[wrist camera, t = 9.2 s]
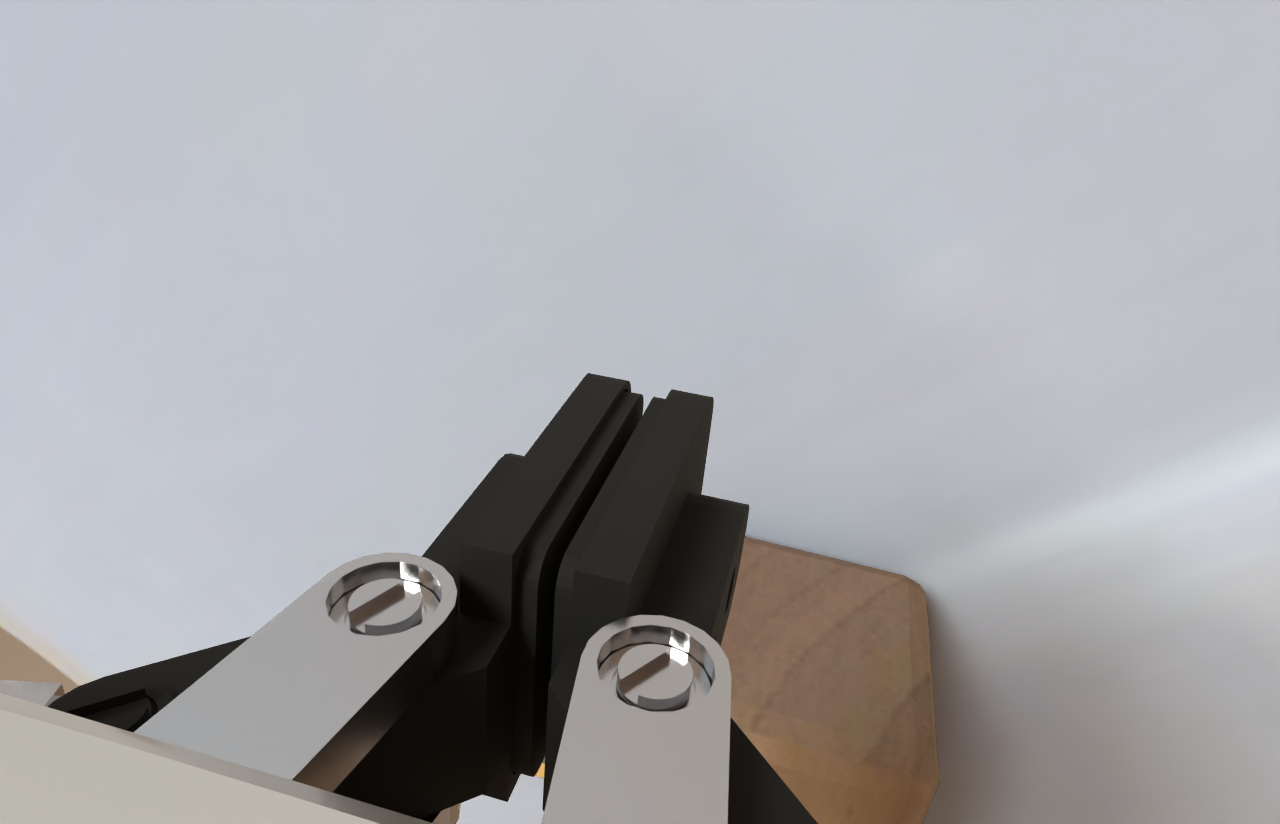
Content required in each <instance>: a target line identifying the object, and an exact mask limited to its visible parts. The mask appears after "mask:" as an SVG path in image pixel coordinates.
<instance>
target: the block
mask: <svg viewBox="0 0 1280 824" xmlns="http://www.w3.org/2000/svg"><path fill="white" fill-rule="evenodd" d="M721 649H722V650H723V652H724V653H725V655H726V657H727V658H728V660H729V666H730V671H731V715H730V717H731V718H732V719H733V720H734V722H735V723H736V724H737V725H738V726H739V728H740V729H741V730H742V731H743V733H744V734H745V735H746V736H747V737H748V739H749V740H750V741H751V742H752V744H753V745H754V746H755V747H756V748H757V750H758V751H759V752H760V753H761V755H762V756H763V757H764V758H765V759H766V761H767V762H768V763H769V764H770V766H771V767H772V768H773V769H774V770H775V772H776V773H777V774H778V775H779V777H780V778H781V779H782V780H783V781H784V783H785V784H786V785H787V786H788V787H789V789H790V790H791V791H792V792H793V794H794V795H795V796H796V797H797V798H798V800H799V801H800V802H801V803H802V805H803V806H804V807H805V808H806V809H807V811H808V812H809V813H810V814H811V816H812V817H813V818H814V819H815V820H816V822H817V823H818V824H922V822H923V820H924V817H925V815H926V813H927V811H928V808H929V806H930V804H931V801H932V799H933V797H934V795H935V792H936V790H937V788H938V785H939V770H938V756H937V741H936V727H935V712H934V697H933V683H932V668H931V654H930V639H929V624H928V610H927V603H926V597H925V592H924V591H923V589H922V587H921V586H920V585H919V584H918V583H916V582H914V581H913V580H911V579H909V578H907V577H906V576H903V575H899V574H895V573H890V572H886V571H882V570H878V569H874V568H870V567H866V566H862V565H858V564H854V563H850V562H846V561H842V560H838V559H834V558H830V557H826V556H821V555H817V554H813V553H809V552H805V551H801V550H797V549H793V548H789V547H785V546H781V545H777V544H773V543H769V542H765V541H761V540H756V539H752V538H748V537H745V538H744V544H743V549H742V555H741V561H740V566H739V571H738V576H737V581H736V586H735V591H734V595H733V600H732V604H731V608H730V613H729V617H728V621H727V624H726V628H725V632H724V636H723V639H722V643H721Z"/></svg>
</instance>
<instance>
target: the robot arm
mask: <svg viewBox="0 0 1280 824" xmlns="http://www.w3.org/2000/svg"><path fill="white" fill-rule="evenodd" d="M712 413H713V397H708V396H703V395H698V394H692V393H687V392H682V391H677V390H671V391H670V392H669V394H668V396H667V398H666V399H662V398H657V397H653V399H652V400H651V402H650V404H649V405H648V407H647V409H646V411H645V412H644V414H643V395H642V394H636V393H631V385H630V382H629V381H626V380H621V379H615V378H610V377H605V376H600V375H595V374H590V373H588V374H587V375H586V376H585V377H584V378H583V380H582V381H581V382H580V384H579V385H578V386H577V388H576V389H575V390H574V392H573V393H572V394H571V395H570V397H569V398H568V399H567V401H566V402H565V403H564V405H563V406H562V407H561V409H560V410H559V411H558V413H557V414H556V415H555V417H554V418H553V419H552V421H551V422H550V423H549V425H548V426H547V427H546V428H545V430H544V431H543V432H542V434H541V435H540V436H539V438H538V439H537V440H536V442H535V443H534V444H533V446H532V447H531V448H530V450H529V451H528V452H527V454H526V455H525V456H520V455H515V454H505V455H504V456H503V457H502V458H501V459H500V460H499V461H498V462H497V463H496V465H495V466H494V467H493V468H492V470H491V471H490V472H489V473H488V475H487V476H486V477H485V478H484V480H483V481H482V482H481V483H480V485H479V486H478V487H477V488H476V490H475V491H474V492H473V493H472V495H471V496H470V497H469V498H468V500H467V501H466V502H465V503H464V505H463V506H462V507H461V508H460V509H459V511H458V512H457V513H456V514H455V516H454V517H453V518H452V519H451V521H450V522H449V523H448V524H447V526H446V527H445V528H444V529H443V531H442V532H441V533H440V534H439V536H438V537H437V538H436V539H435V541H434V542H433V543H432V544H431V546H430V547H429V548H428V549H427V551H426V552H425V553H424V554H423V556H422V557H421V556H416V555H412V554H408V553H382V554H376V555H370V556H364V557H361V558H359V559H356V560H353V561H350V562H347V563H345V564H343V565H341V566H340V567H338V568H337V569H335V570H333V571H332V572H330V573H329V574H327V575H326V576H325V577H323V578H322V579H321V580H320V581H319V582H317V583H316V584H315V585H314V586H312V587H311V588H310V589H309V590H307V591H306V592H305V593H304V594H303V595H301V596H300V597H299V598H298V599H296V600H295V601H294V602H293V603H292V604H290V605H289V606H288V607H287V608H285V609H284V610H283V611H282V612H281V613H279V614H278V615H277V616H276V617H274V618H273V619H272V620H271V621H269V622H268V623H267V624H266V625H265V626H263V627H262V628H261V629H260V630H258V631H257V632H256V633H255V634H254V635H252V636H251V637H247V638H244V639H240V640H236V641H233V642H229V643H225V644H222V645H218V646H215V647H211V648H207V649H204V650H200V651H196V652H193V653H189V654H186V655H182V656H178V657H175V658H171V659H168V660H164V661H160V662H157V663H153V664H149V665H146V666H142V667H139V668H135V669H131V670H128V671H124V672H120V673H117V674H113V675H110V676H106V677H103V678H100V679H98V680H95V681H92V682H90V683H87V684H84V685H81V686H79V687H77V688H75V689H73V690H72V691H70V692H68V693H67V694H65V693H64V690H63V687H62V684H56V683H42V682H28V681H14V680H1V679H0V824H456V823H457V821H458V819H459V813H460V805H461V803H462V802H464V801H467V800H469V799H472V798H474V797H477V796H479V795H482V794H483V795H486V796H489V797H493V798H496V799H500V800H503V801H506V802H508V799H509V797H510V795H511V793H512V791H513V789H514V787H515V785H516V782H517V780H518V778H519V776H520V774H525V775H528V776H532V777H533V776H535V775H536V774H537V772H538V770H539V768H540V766H541V764H542V762H543V760H544V757H545V770H544V791H543V811H544V815H543V819H542V824H818V823H817V822H816V820H815V819H814V818H813V817H812V816H811V814H810V813H809V812H808V811H807V809H806V808H805V807H804V806H803V805H802V803H801V802H800V801H799V800H798V798H797V797H796V796H795V795H794V794H793V792H792V791H791V790H790V789H789V787H788V786H787V785H786V784H785V783H784V781H783V780H782V779H781V778H780V777H779V775H778V774H777V773H776V772H775V770H774V769H773V768H772V767H771V766H770V764H769V763H768V762H767V761H766V759H765V758H764V757H763V756H762V755H761V753H760V752H759V751H758V750H757V748H756V747H755V746H754V745H753V744H752V742H751V741H750V740H749V739H748V737H747V736H746V735H745V734H744V733H743V731H742V730H741V729H740V728H739V726H738V725H737V724H736V723H735V722H734V720H733V719H732V718H731V717H730V715H731V671H730V666H729V660H728V658H727V657H726V655H725V653H724V652H723V650H722V649H721V643H722V639H723V636H724V632H725V628H726V624H727V621H728V617H729V613H730V608H731V604H732V600H733V595H734V591H735V586H736V581H737V576H738V571H739V566H740V561H741V555H742V549H743V544H744V538H745V532H746V526H747V520H748V513H749V505H747V504H742V503H737V502H733V501H728V500H724V499H719V498H714V497H710V496H705V495H701V492H702V485H703V477H704V470H705V463H706V456H707V449H708V442H709V435H710V427H711V420H712ZM642 414H643V416H642Z"/></svg>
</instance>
